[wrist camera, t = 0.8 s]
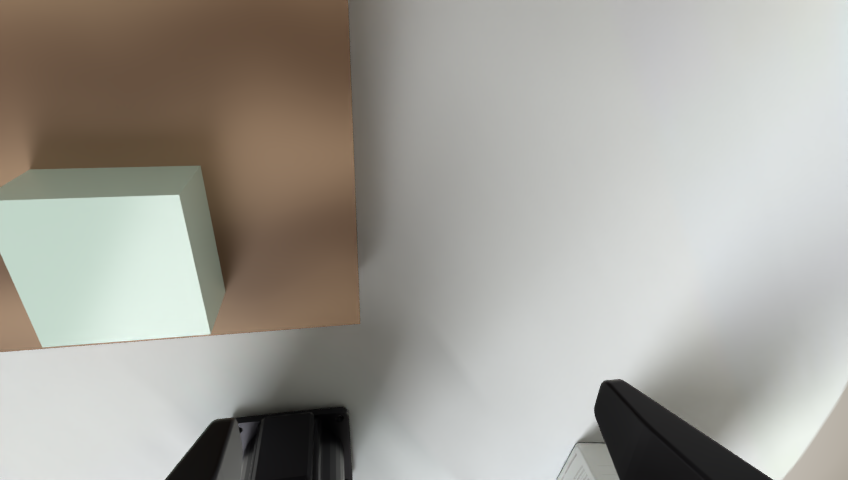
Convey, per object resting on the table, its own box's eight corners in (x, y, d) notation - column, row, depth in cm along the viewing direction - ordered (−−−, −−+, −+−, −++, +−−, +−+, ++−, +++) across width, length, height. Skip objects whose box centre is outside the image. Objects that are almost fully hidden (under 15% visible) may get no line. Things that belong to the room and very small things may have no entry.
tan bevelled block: (356, 273, 23) (360, 323, 20) (9, 294, 21) (-56, 356, 17) (332, -313, 14) (332, -414, 10) (-309, -403, 11) (-596, -577, 8)
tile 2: (225, 292, 18) (210, 334, 16) (79, 301, 17) (42, 347, 15) (200, 165, 16) (178, 195, 13) (29, 169, 15) (-23, 201, 12)
